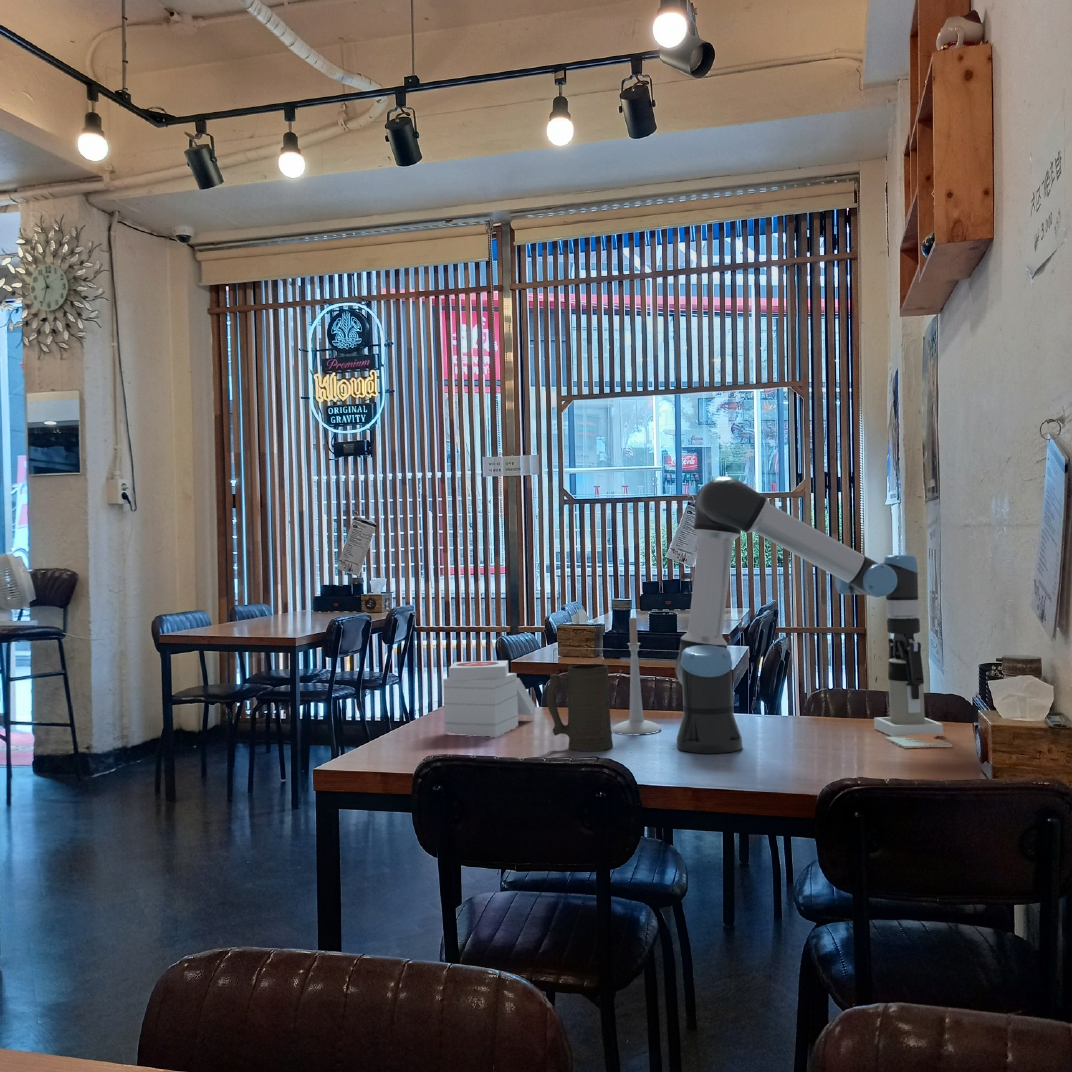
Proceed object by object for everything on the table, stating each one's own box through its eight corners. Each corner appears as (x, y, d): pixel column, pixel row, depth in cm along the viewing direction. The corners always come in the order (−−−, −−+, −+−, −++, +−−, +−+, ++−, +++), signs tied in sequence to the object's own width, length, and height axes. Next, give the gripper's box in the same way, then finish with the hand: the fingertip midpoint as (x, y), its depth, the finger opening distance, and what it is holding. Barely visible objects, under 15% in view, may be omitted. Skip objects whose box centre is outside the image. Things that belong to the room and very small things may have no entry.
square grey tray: (893, 738, 221) (893, 725, 221) (874, 729, 233) (874, 717, 233) (943, 736, 221) (942, 724, 222) (921, 727, 233) (921, 715, 234)
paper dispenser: (542, 719, 264) (540, 656, 264) (499, 739, 236) (497, 668, 236) (481, 717, 271) (479, 655, 271) (432, 736, 243) (430, 667, 244)
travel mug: (920, 737, 222) (917, 662, 222) (886, 734, 227) (883, 660, 227) (929, 731, 228) (926, 658, 229) (895, 728, 233) (893, 657, 233)
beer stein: (609, 741, 229) (601, 660, 229) (621, 749, 218) (612, 665, 218) (549, 749, 226) (541, 668, 226) (557, 758, 215) (549, 672, 216)
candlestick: (660, 726, 248) (656, 614, 249) (662, 734, 235) (658, 617, 236) (612, 726, 249) (609, 615, 250) (611, 735, 236) (607, 618, 237)
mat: (904, 748, 209) (904, 746, 209) (885, 739, 220) (885, 737, 220) (952, 747, 209) (952, 744, 209) (930, 738, 220) (930, 735, 220)
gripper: (937, 619, 218) (941, 716, 217) (900, 614, 239) (904, 702, 238) (905, 620, 218) (909, 717, 217) (871, 615, 238) (875, 703, 238)
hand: (906, 709), depth 228 cm, fingers closed on travel mug, 8 cm apart
